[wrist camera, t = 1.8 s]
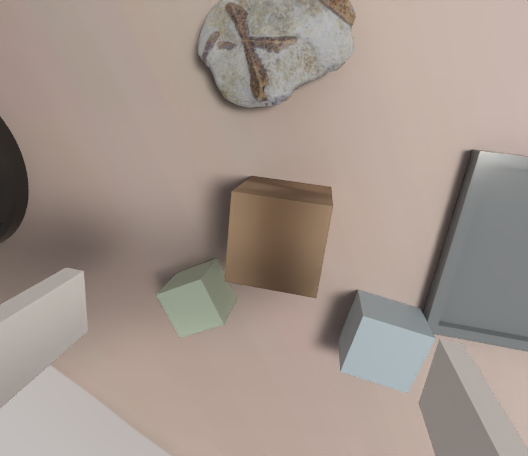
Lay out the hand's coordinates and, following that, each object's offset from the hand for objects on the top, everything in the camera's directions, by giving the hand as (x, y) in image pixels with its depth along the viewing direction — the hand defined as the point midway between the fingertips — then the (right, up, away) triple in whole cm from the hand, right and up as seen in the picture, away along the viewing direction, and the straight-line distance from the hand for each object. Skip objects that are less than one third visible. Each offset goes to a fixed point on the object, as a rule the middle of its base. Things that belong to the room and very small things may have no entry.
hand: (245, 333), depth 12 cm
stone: (+5, +15, +10) cm, 19 cm away
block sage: (-4, -1, +17) cm, 18 cm away
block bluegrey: (+10, -4, +15) cm, 19 cm away
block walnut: (+2, +5, +14) cm, 15 cm away
